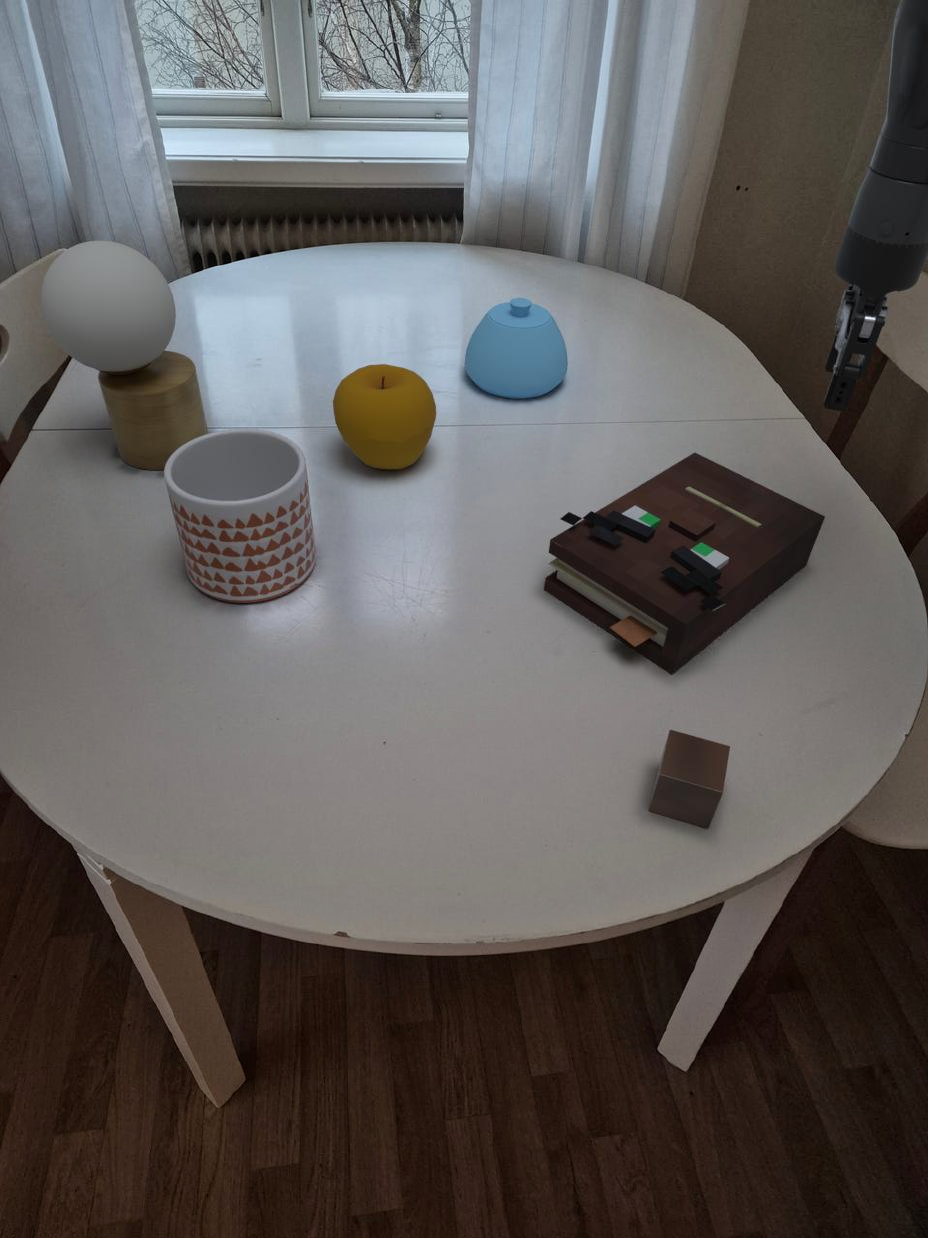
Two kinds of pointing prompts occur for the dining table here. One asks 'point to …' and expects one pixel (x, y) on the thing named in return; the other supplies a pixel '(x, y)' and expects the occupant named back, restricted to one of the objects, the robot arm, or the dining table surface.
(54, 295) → the lamp
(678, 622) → the decorative book
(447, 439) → the dining table surface
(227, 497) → the planter
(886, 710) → the dining table surface
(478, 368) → the sugar bowl
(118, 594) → the dining table surface
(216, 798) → the dining table surface
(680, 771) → the walnut block
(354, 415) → the apple
